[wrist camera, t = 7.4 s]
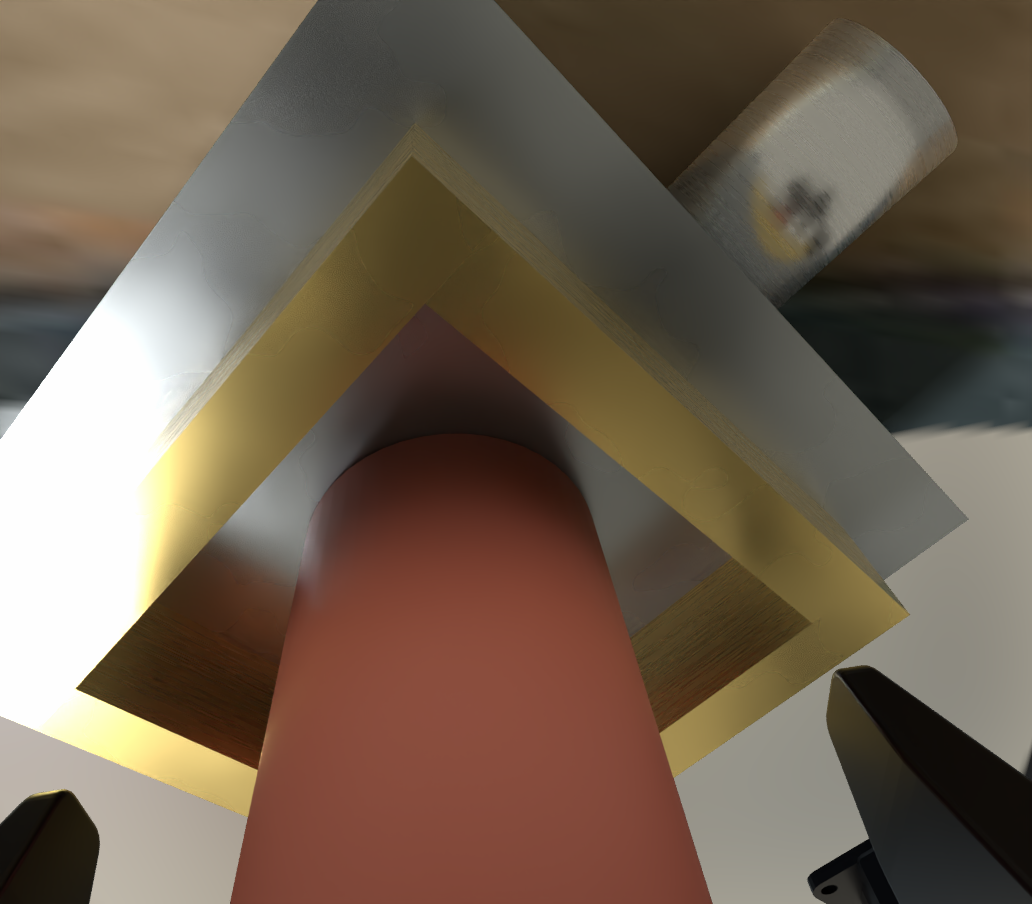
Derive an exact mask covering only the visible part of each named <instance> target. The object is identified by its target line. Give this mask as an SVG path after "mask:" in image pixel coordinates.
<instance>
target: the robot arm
mask: <svg viewBox="0 0 1032 904" xmlns="http://www.w3.org/2000/svg"><path fill="white" fill-rule="evenodd" d="M826 718H827V719H826V720H827V727H828V731H829V734H830V737H831V740H832V742H833V745H834V748H835V750H836V753H837V756H838V758H839V761H840V763H841V766H842V769H843V771H844V774H845V776H846V779H847V782H848V784H849V787H850V790H851V792H852V795H853V797H854V800H855V802H856V805H857V808H858V810H859V813H860V816H861V818H862V820H863V823H864V826H865V829H866V831H867V834H868V836H869V839H868V840H866V841H864V842H863V843H861V844H859V845H858V846H856V847H854V848H852V849H851V850H849V851H847V852H846V853H844V854H842V855H841V856H839V857H837V858H836V859H834V860H832V861H831V862H829V863H827V864H826V865H824V866H822V867H820V868H819V869H818V870H816V871H814V872H813V873H811V874H810V876H809V877H808V884H809V886H810V889H811V891H812V893H813V895H814V896H815V897H816V898H817V899H819V900H821V901H823V902H824V903H826V904H1032V781H1031V780H1030V779H1029V778H1027V777H1026V776H1024V775H1023V774H1022V773H1020V772H1019V771H1017V770H1016V769H1015V768H1013V767H1012V766H1011V765H1009V764H1008V763H1006V762H1005V761H1004V760H1002V759H1001V758H999V757H998V756H997V755H995V754H994V753H992V752H991V751H990V750H988V749H987V748H985V747H984V746H983V745H981V744H980V743H978V742H977V741H976V740H974V739H973V738H971V737H970V736H969V735H967V734H966V733H964V732H963V731H962V730H960V729H959V728H957V727H956V726H955V725H953V724H952V723H951V722H949V721H948V720H946V719H945V718H943V717H942V716H941V715H939V714H938V713H937V712H935V711H934V710H932V709H931V708H929V707H928V706H927V705H925V704H924V703H922V702H921V701H920V700H918V699H917V698H916V697H914V696H913V695H911V694H910V693H909V692H907V691H906V690H904V689H903V688H902V687H900V686H899V685H898V684H896V683H894V682H893V681H892V680H890V679H889V678H888V677H886V676H885V675H883V674H882V673H881V672H879V671H878V670H876V669H875V668H873V667H870V666H867V665H861V666H855V667H849V668H842V669H838V670H836V671H835V672H834V674H833V676H832V680H831V686H830V693H829V700H828V707H827V714H826ZM99 846H100V841H99V834H98V830H97V828H96V826H95V824H94V823H93V822H92V820H91V819H90V817H89V816H88V814H87V813H86V811H85V810H84V808H83V807H82V805H81V804H80V802H79V801H78V799H77V798H76V796H75V795H74V794H73V793H72V792H71V791H68V790H65V789H61V790H55V791H49V792H42V793H37V794H33V795H31V796H29V797H28V798H26V799H25V800H24V801H23V802H22V803H21V804H19V805H18V806H17V807H16V808H15V810H13V811H12V813H11V814H10V815H9V816H8V817H7V818H6V819H5V820H4V821H3V822H2V823H1V824H0V904H89V902H90V896H91V891H92V886H93V881H94V875H95V870H96V865H97V859H98V855H99V848H100V847H99Z"/></svg>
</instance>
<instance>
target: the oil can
mask: <svg viewBox="0 0 1032 904" xmlns="http://www.w3.org/2000/svg"><path fill="white" fill-rule="evenodd" d="M230 904H713V903H712V900H711V897H710V894H709V891H708V888H707V884H706V881H705V878H704V875H703V871H702V868H701V865H700V862H699V859H698V856H697V852H696V849H695V846H694V842H693V840H692V836H691V833H690V830H689V827H688V823H687V820H686V817H685V814H684V810H683V807H682V804H681V801H680V797H679V794H678V791H677V788H676V785H675V781H674V778H673V775H672V772H671V769H670V765H669V762H668V759H667V756H666V752H665V749H664V746H663V743H662V740H661V736H660V733H659V730H658V727H657V724H656V720H655V717H654V714H653V711H652V708H651V704H650V701H649V698H648V695H647V691H646V688H645V685H644V682H643V679H642V675H641V672H640V669H639V666H638V663H637V659H636V656H635V653H634V650H633V646H632V643H631V640H630V637H629V634H628V630H627V627H626V624H625V621H624V618H623V614H622V611H621V608H620V605H619V601H618V598H617V595H616V592H615V589H614V585H613V582H612V579H611V576H610V573H609V569H608V566H607V563H606V560H605V557H604V553H603V550H602V547H601V544H600V540H599V537H598V534H597V531H596V528H595V524H594V521H593V518H592V515H591V513H590V510H589V508H588V505H587V503H586V501H585V499H584V498H583V496H582V494H581V492H580V491H579V489H578V488H577V487H576V486H575V484H574V483H573V482H572V481H571V479H570V478H569V477H568V476H567V475H566V474H565V473H564V472H562V471H561V470H560V469H559V468H558V467H557V466H556V465H555V464H553V463H552V462H550V461H549V460H547V459H546V458H544V457H543V456H541V455H539V454H537V453H535V452H533V451H531V450H529V449H527V448H525V447H523V446H521V445H518V444H515V443H512V442H509V441H506V440H503V439H498V438H494V437H489V436H484V435H474V434H438V435H430V436H422V437H418V438H414V439H410V440H406V441H402V442H399V443H396V444H394V445H391V446H388V447H385V448H383V449H381V450H379V451H377V452H375V453H373V454H371V455H369V456H367V457H365V458H364V459H362V460H361V461H359V462H358V463H356V464H355V465H354V466H352V467H351V468H349V469H348V470H347V471H346V472H345V473H344V474H342V475H341V476H340V477H339V478H338V479H337V480H336V481H335V482H334V483H333V484H332V486H331V487H330V488H329V489H328V490H327V492H326V493H325V494H324V495H323V497H322V499H321V500H320V502H319V504H318V505H317V507H316V509H315V511H314V513H313V516H312V518H311V521H310V523H309V526H308V531H307V535H306V540H305V545H304V550H303V554H302V559H301V564H300V569H299V574H298V579H297V583H296V588H295V593H294V598H293V603H292V607H291V612H290V617H289V622H288V627H287V632H286V636H285V641H284V646H283V651H282V656H281V660H280V665H279V670H278V675H277V680H276V685H275V689H274V694H273V699H272V704H271V709H270V713H269V718H268V723H267V728H266V733H265V737H264V742H263V747H262V752H261V757H260V762H259V766H258V771H257V776H256V781H255V786H254V790H253V795H252V800H251V805H250V810H249V815H248V819H247V825H246V829H245V834H244V839H243V843H242V848H241V853H240V858H239V863H238V868H237V872H236V877H235V882H234V887H233V892H232V896H231V902H230Z"/></svg>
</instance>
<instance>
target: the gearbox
mask: <svg viewBox="0 0 1032 904" xmlns="http://www.w3.org/2000/svg"><path fill="white" fill-rule="evenodd" d="M956 147H957V133H956V130H955V126H954V124H953V122H952V119H951V117H950V115H949V113H948V111H947V109H946V108H945V106H944V104H943V103H942V101H941V100H940V98H939V97H938V95H937V94H936V92H935V91H934V90H933V88H932V87H931V86H930V84H929V83H928V82H927V81H926V79H925V78H924V77H923V76H922V75H921V74H920V72H919V71H918V70H917V69H916V68H915V67H914V66H913V65H912V64H911V63H910V62H909V61H908V60H907V59H906V58H905V57H904V56H903V55H902V54H901V53H900V52H899V51H898V50H896V49H895V48H894V47H893V46H892V45H891V44H889V43H888V42H887V41H886V40H884V39H883V38H882V37H880V36H879V35H877V34H876V33H874V32H873V31H872V30H870V29H868V28H866V27H865V26H863V25H861V24H859V23H856V22H854V21H851V20H848V19H843V18H839V19H834V20H832V21H831V22H830V23H829V24H828V25H827V26H826V27H825V28H824V29H823V30H822V31H821V32H820V33H819V34H818V35H817V36H816V37H815V38H814V39H813V40H812V41H811V42H810V43H809V44H808V45H807V46H806V47H805V48H804V49H803V50H802V51H801V52H800V53H799V54H798V55H797V57H796V58H795V59H794V60H793V61H792V62H791V63H790V64H789V65H788V66H787V67H786V68H785V69H784V70H783V71H782V72H781V73H780V74H779V75H778V76H777V77H776V78H775V79H774V80H773V81H772V82H771V83H770V84H769V85H768V86H767V87H766V88H765V89H764V90H763V91H762V92H761V93H760V94H759V95H758V96H757V97H756V98H755V99H754V100H753V101H752V102H751V103H750V104H749V105H748V106H747V107H746V108H745V109H744V110H743V111H742V112H741V113H740V115H739V116H738V117H737V118H736V119H735V120H734V121H733V122H732V123H731V124H730V125H729V126H728V127H727V128H726V129H725V130H724V131H723V132H722V133H721V134H720V135H719V136H718V137H717V138H716V139H715V140H714V141H713V142H712V143H711V144H710V145H709V146H708V147H707V148H706V149H705V150H704V151H703V152H702V153H701V154H700V155H699V156H698V157H697V158H696V159H695V160H694V161H693V162H692V163H691V164H690V165H689V166H688V167H687V168H686V169H685V170H684V171H683V172H682V174H681V175H680V176H679V177H678V178H677V179H676V180H675V181H674V182H673V183H672V184H671V185H670V186H669V187H668V188H667V189H666V188H665V187H664V186H663V185H662V183H661V182H660V181H659V180H658V179H657V178H656V177H655V176H654V175H653V174H652V173H651V171H650V170H649V169H648V168H647V167H646V166H645V165H644V164H643V163H642V162H641V160H640V159H639V158H638V157H637V156H636V155H635V154H634V153H633V152H632V151H631V150H630V148H629V147H628V146H627V145H626V144H625V143H624V142H623V141H622V140H621V139H620V138H619V136H618V135H617V134H616V133H615V132H614V131H613V130H612V129H611V128H610V127H609V126H608V124H607V123H606V122H605V121H604V120H603V119H602V118H601V117H600V116H599V115H598V114H597V112H596V111H595V110H594V109H593V108H592V107H591V106H590V105H589V104H588V103H587V101H586V100H585V99H584V98H583V97H582V96H581V95H580V94H579V93H578V92H577V91H576V89H575V88H574V87H573V86H572V85H571V84H570V83H569V82H568V81H567V80H566V79H565V77H564V76H563V75H562V74H561V73H560V72H559V71H558V70H557V69H556V68H555V67H554V65H553V64H552V63H551V62H550V61H549V60H548V59H547V58H546V57H545V56H544V55H543V53H542V52H541V51H540V50H539V49H538V48H537V47H536V46H535V45H534V44H533V42H532V41H531V40H530V39H529V38H528V37H527V36H526V35H525V34H524V33H523V32H522V30H521V29H520V28H519V27H518V26H517V25H516V24H515V23H514V22H513V21H512V20H511V18H510V17H509V16H508V15H507V14H506V13H505V12H504V11H503V10H502V9H501V8H500V6H499V5H498V4H497V3H496V2H495V1H494V0H318V1H317V2H316V4H315V5H314V7H313V8H312V9H311V11H310V12H309V14H308V15H307V16H306V18H305V19H304V21H303V22H302V23H301V25H300V26H299V27H298V29H297V30H296V32H295V33H294V34H293V36H292V37H291V39H290V40H289V41H288V43H287V44H286V45H285V47H284V48H283V50H282V51H281V52H280V54H279V55H278V57H277V58H276V59H275V61H274V62H273V64H272V65H271V66H270V68H269V69H268V70H267V72H266V73H265V75H264V76H263V77H262V79H261V80H260V82H259V83H258V84H257V86H256V87H255V88H254V90H253V91H252V93H251V94H250V95H249V97H248V98H247V100H246V101H245V102H244V104H243V105H242V106H241V108H240V109H239V111H238V112H237V113H236V115H235V116H234V118H233V119H232V120H231V122H230V123H229V125H228V126H227V127H226V129H225V130H224V131H223V133H222V134H221V136H220V137H219V138H218V140H217V141H216V143H215V144H214V145H213V147H212V148H211V149H210V151H209V152H208V154H207V155H206V156H205V158H204V159H203V161H202V162H201V163H200V165H199V166H198V168H197V169H196V170H195V172H194V173H193V174H192V176H191V177H190V179H189V180H188V181H187V183H186V184H185V186H184V187H183V188H182V190H181V191H180V192H179V194H178V195H177V197H176V198H175V199H174V201H173V202H172V204H171V205H170V206H169V208H168V209H167V211H166V212H165V213H164V215H163V216H162V217H161V219H160V220H159V222H158V223H157V224H156V226H155V227H154V229H153V230H152V231H151V233H150V234H149V235H148V237H147V238H146V240H145V241H144V242H143V244H142V245H141V247H140V248H139V249H138V251H137V252H136V254H135V255H134V256H133V258H132V259H131V260H130V262H129V263H128V265H127V266H126V267H125V269H124V270H123V272H122V273H121V274H120V276H119V277H118V278H117V280H116V281H115V283H114V284H113V285H112V287H111V288H110V290H109V291H108V292H107V294H106V295H105V297H104V298H103V299H102V301H101V302H100V303H99V305H98V306H97V308H96V309H95V310H94V312H93V313H92V315H91V316H90V317H89V319H88V320H87V321H86V323H85V324H84V326H83V327H82V328H81V330H80V331H79V333H78V334H77V335H76V337H75V338H74V340H73V341H72V342H71V344H70V345H69V346H68V348H67V349H66V351H65V352H64V353H63V355H62V356H61V358H60V359H59V360H58V362H57V363H56V364H55V366H54V367H53V369H52V370H51V371H50V373H49V374H48V376H47V377H46V378H45V380H44V381H43V383H42V384H41V385H40V387H39V388H38V389H37V391H36V392H35V394H34V395H33V396H32V398H31V399H30V401H29V402H28V403H27V405H26V406H25V407H24V409H23V410H22V412H21V413H20V414H19V416H18V417H17V419H16V420H15V421H14V423H13V424H12V425H11V427H10V428H9V430H8V431H7V432H6V434H5V435H4V437H3V438H2V439H1V441H0V716H3V717H5V718H8V719H10V720H13V721H15V722H18V723H20V724H22V725H25V726H27V727H30V728H32V729H35V730H37V731H39V732H42V733H44V734H47V735H49V736H51V737H54V738H56V739H59V740H61V741H64V742H66V743H69V744H71V745H74V746H76V747H79V748H81V749H83V750H86V751H88V752H90V753H93V754H95V755H98V756H100V757H103V758H105V759H107V760H110V761H112V762H115V763H117V764H120V765H122V766H124V767H127V768H129V769H132V770H134V771H137V772H139V773H142V774H144V775H146V776H149V777H151V778H154V779H156V780H159V781H161V782H163V783H166V784H168V785H171V786H173V787H175V788H178V789H180V790H183V791H185V792H188V793H190V794H192V795H195V796H198V797H200V798H202V799H205V800H207V801H209V802H212V803H214V804H217V805H219V806H222V807H224V808H226V809H229V810H231V811H234V812H236V813H239V814H241V815H244V816H246V817H248V815H249V810H250V805H251V800H252V795H253V790H254V786H255V781H256V776H257V771H258V766H259V762H260V757H261V752H262V747H263V742H264V737H265V733H266V728H267V723H268V718H269V713H270V709H271V704H272V699H273V694H274V689H275V685H276V680H277V675H278V670H279V665H280V660H281V656H282V651H283V646H284V641H285V636H286V632H287V627H288V622H289V617H290V612H291V607H292V603H293V598H294V593H295V588H296V583H297V579H298V574H299V569H300V564H301V559H302V554H303V550H304V545H305V540H306V535H307V531H308V526H309V523H310V521H311V518H312V516H313V513H314V511H315V509H316V507H317V505H318V504H319V502H320V500H321V499H322V497H323V495H324V494H325V493H326V492H327V490H328V489H329V488H330V487H331V486H332V484H333V483H334V482H335V481H336V480H337V479H338V478H339V477H340V476H341V475H342V474H344V473H345V472H346V471H347V470H348V469H349V468H351V467H352V466H354V465H355V464H356V463H358V462H359V461H361V460H362V459H364V458H365V457H367V456H369V455H371V454H373V453H375V452H377V451H379V450H381V449H383V448H385V447H388V446H391V445H394V444H396V443H399V442H402V441H406V440H410V439H414V438H418V437H422V436H430V435H438V434H474V435H484V436H489V437H494V438H498V439H503V440H506V441H509V442H512V443H515V444H518V445H521V446H523V447H525V448H527V449H529V450H531V451H533V452H535V453H537V454H539V455H541V456H543V457H544V458H546V459H547V460H549V461H550V462H552V463H553V464H555V465H556V466H557V467H558V468H559V469H560V470H561V471H562V472H564V473H565V474H566V475H567V476H568V477H569V478H570V479H571V481H572V482H573V483H574V484H575V486H576V487H577V488H578V489H579V491H580V492H581V494H582V496H583V498H584V499H585V501H586V503H587V505H588V508H589V510H590V513H591V515H592V518H593V521H594V524H595V528H596V531H597V534H598V537H599V540H600V544H601V547H602V550H603V553H604V557H605V560H606V563H607V566H608V569H609V573H610V576H611V579H612V582H613V585H614V589H615V592H616V595H617V598H618V601H619V605H620V608H621V611H622V614H623V618H624V621H625V624H626V627H627V630H628V634H629V637H630V640H631V643H632V646H633V650H634V653H635V656H636V659H637V663H638V666H639V669H640V672H641V675H642V679H643V682H644V685H645V688H646V691H647V695H648V698H649V701H650V704H651V708H652V711H653V714H654V717H655V720H656V724H657V727H658V730H659V733H660V736H661V740H662V743H663V746H664V749H665V752H666V756H667V759H668V762H669V765H670V769H671V772H672V775H673V778H674V777H676V776H677V775H679V774H680V773H681V772H683V771H684V770H686V769H687V768H688V767H690V766H692V765H693V764H694V763H696V762H697V761H699V760H700V759H702V758H703V757H705V756H706V755H707V754H709V753H711V752H712V751H713V750H715V749H716V748H718V747H719V746H721V745H722V744H724V743H725V742H726V741H728V740H729V739H731V738H732V737H734V736H735V735H736V734H738V733H739V732H741V731H742V730H744V729H745V728H747V727H748V726H750V725H751V724H753V723H754V722H755V721H757V720H758V719H760V718H761V717H763V716H764V715H765V714H767V713H768V712H770V711H771V710H773V709H774V708H775V707H777V706H778V705H780V704H781V703H783V702H784V701H786V700H787V699H789V698H790V697H792V696H793V695H794V694H796V693H797V692H799V691H800V690H802V689H803V688H805V687H806V686H808V685H809V684H810V683H812V682H813V681H815V680H816V679H818V678H819V677H820V676H822V675H823V674H825V673H826V672H828V671H829V670H831V669H832V668H833V667H835V666H836V665H838V664H839V663H841V662H842V661H844V660H845V659H847V658H848V657H849V656H851V655H852V654H854V653H855V652H857V651H858V650H860V649H861V648H863V647H864V646H865V645H867V644H868V643H870V642H871V641H873V640H874V639H875V638H877V637H878V636H880V635H881V634H883V633H884V632H886V631H887V630H889V629H890V628H892V627H893V626H894V625H896V624H897V623H899V622H900V621H902V620H903V619H904V618H906V617H907V616H909V615H910V614H909V613H908V612H907V610H906V609H905V608H904V606H903V605H902V604H901V602H900V601H899V600H898V599H897V597H896V596H895V595H894V593H893V592H892V591H891V589H890V588H889V587H888V586H887V584H886V583H885V581H884V580H885V579H886V578H887V577H889V576H890V575H892V574H893V573H894V572H896V571H897V570H899V569H900V568H901V567H903V566H904V565H905V564H907V563H908V562H909V561H911V560H912V559H914V558H915V557H917V556H918V555H919V554H920V553H922V552H924V551H925V550H926V549H928V548H929V547H931V546H932V545H933V544H935V543H936V542H938V541H939V540H940V539H942V538H943V537H945V536H946V535H947V534H949V533H950V532H952V531H953V530H954V529H956V528H957V527H959V526H960V525H961V524H963V523H964V522H966V521H967V520H968V518H967V517H966V516H965V514H963V512H962V511H961V510H960V509H959V508H958V507H957V506H956V505H955V504H954V502H953V501H952V500H951V499H950V498H949V497H948V496H947V495H946V494H945V493H944V492H943V490H942V489H941V488H940V487H939V486H938V485H937V484H936V483H935V482H934V481H933V480H932V479H931V477H930V476H929V475H928V474H927V473H926V472H925V471H924V470H923V469H922V468H921V466H920V465H919V464H918V463H917V462H916V461H915V460H914V459H913V458H912V457H911V455H909V453H908V452H907V451H906V450H905V449H904V448H903V447H902V446H901V445H900V443H899V442H898V441H897V440H896V439H895V438H894V437H893V436H892V435H891V434H890V433H889V431H888V430H887V429H886V428H885V427H884V426H883V425H882V424H881V423H880V422H879V421H878V419H877V418H876V417H875V416H874V415H873V414H872V413H871V412H870V411H869V410H868V409H867V407H866V406H865V405H864V404H863V403H862V402H861V401H860V400H859V399H858V398H857V396H856V395H855V394H854V393H853V392H852V391H851V390H850V389H849V388H848V387H847V386H846V384H845V383H844V382H843V381H842V380H841V379H840V378H839V377H838V376H837V375H836V374H835V372H834V371H833V370H832V369H831V368H830V367H829V366H828V365H827V364H826V363H825V362H824V360H823V359H822V358H821V357H820V356H819V355H818V354H817V353H816V352H815V351H814V350H813V348H812V347H811V346H810V345H809V344H808V343H807V342H806V341H805V340H804V339H803V337H802V336H801V335H800V334H799V333H798V332H797V331H796V330H795V329H794V328H793V327H792V325H791V324H790V323H789V322H788V321H787V320H786V319H785V318H784V317H783V316H782V315H781V313H780V312H779V311H778V310H777V309H778V308H780V307H781V306H782V305H783V304H784V303H785V302H786V301H787V300H789V299H790V298H791V297H792V296H793V295H794V294H795V293H796V292H797V291H799V290H800V289H801V288H802V287H803V286H804V285H805V284H806V283H807V282H809V281H810V280H811V279H812V278H813V277H814V276H815V275H816V274H818V273H819V272H820V271H821V270H822V269H823V268H824V267H825V266H826V265H828V264H829V263H830V262H831V261H832V260H833V259H834V258H835V257H837V256H838V255H839V254H840V253H841V252H842V251H843V250H844V249H845V248H847V247H848V246H849V245H850V244H851V243H852V242H853V241H854V240H855V239H857V238H858V237H859V236H860V235H861V234H862V233H863V232H864V231H866V230H867V229H868V228H869V227H870V226H871V225H872V224H873V223H874V222H876V221H877V220H878V219H879V218H880V217H881V216H882V215H883V214H884V213H886V212H887V211H888V210H889V209H890V208H891V207H892V206H893V205H895V204H896V203H897V202H898V201H899V200H900V199H901V198H902V197H903V196H905V195H906V194H907V193H908V192H909V191H910V190H911V189H912V188H913V187H915V186H916V185H917V184H918V183H919V182H920V181H921V180H922V179H924V178H925V177H926V176H927V175H928V174H929V173H930V172H931V171H932V170H934V169H935V168H936V167H937V166H938V165H939V164H940V163H941V162H943V161H944V160H945V159H946V158H947V157H948V156H949V155H950V154H951V153H953V152H954V150H955V149H956Z"/></svg>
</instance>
